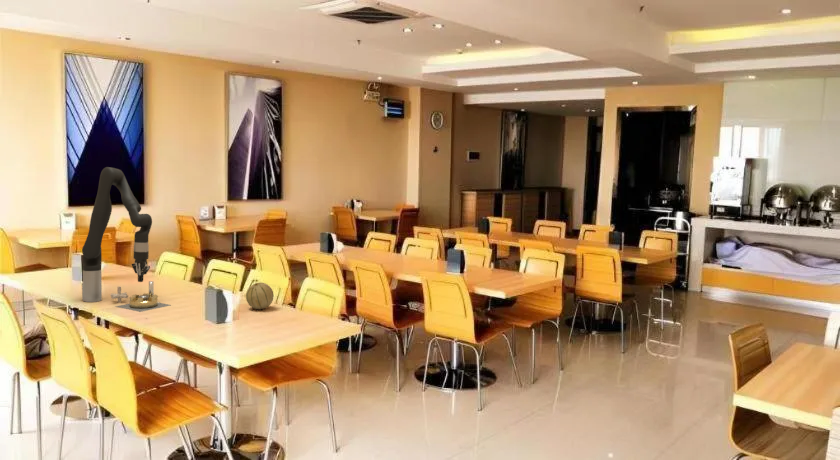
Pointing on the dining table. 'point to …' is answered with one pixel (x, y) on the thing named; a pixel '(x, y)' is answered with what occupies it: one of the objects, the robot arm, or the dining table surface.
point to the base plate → (143, 308)
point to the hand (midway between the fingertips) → (140, 281)
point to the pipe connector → (119, 295)
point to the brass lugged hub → (144, 299)
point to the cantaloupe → (259, 295)
